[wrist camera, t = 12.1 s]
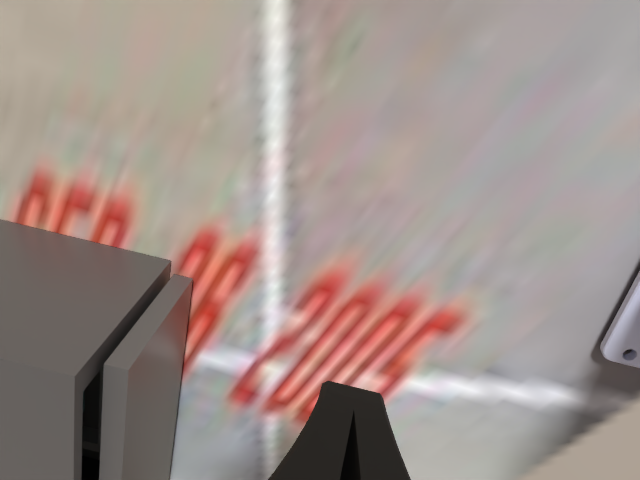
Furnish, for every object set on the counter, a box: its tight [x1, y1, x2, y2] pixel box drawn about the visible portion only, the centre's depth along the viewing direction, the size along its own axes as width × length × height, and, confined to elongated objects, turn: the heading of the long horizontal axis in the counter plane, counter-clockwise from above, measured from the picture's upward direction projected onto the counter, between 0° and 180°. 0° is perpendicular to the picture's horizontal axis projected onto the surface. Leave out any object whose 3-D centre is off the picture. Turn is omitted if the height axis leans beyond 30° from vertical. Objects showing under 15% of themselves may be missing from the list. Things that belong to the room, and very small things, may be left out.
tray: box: [82, 274, 193, 480], centre depth 22 cm, size 10×12×6 cm
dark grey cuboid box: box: [0, 220, 171, 480], centre depth 22 cm, size 10×13×8 cm
